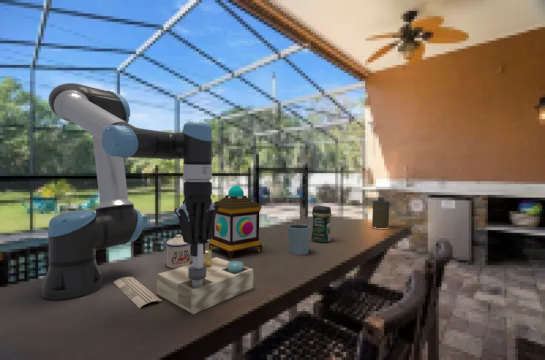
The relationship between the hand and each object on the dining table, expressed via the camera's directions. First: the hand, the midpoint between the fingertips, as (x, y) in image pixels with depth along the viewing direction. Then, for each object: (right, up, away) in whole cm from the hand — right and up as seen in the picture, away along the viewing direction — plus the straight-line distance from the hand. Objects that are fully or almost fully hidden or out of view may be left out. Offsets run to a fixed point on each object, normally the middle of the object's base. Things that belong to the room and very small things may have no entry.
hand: (197, 267), depth 79 cm
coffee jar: (+46, -9, +73) cm, 86 cm away
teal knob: (+9, -9, +11) cm, 17 cm away
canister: (+91, -8, +109) cm, 142 cm away
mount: (0, -10, +9) cm, 14 cm away
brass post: (-1, -4, +14) cm, 14 cm away
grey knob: (0, -7, 0) cm, 7 cm away
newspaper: (-21, -11, +7) cm, 25 cm away
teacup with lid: (-15, -9, +33) cm, 37 cm away
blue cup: (+32, -9, +52) cm, 61 cm away
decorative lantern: (+4, -9, +52) cm, 53 cm away
